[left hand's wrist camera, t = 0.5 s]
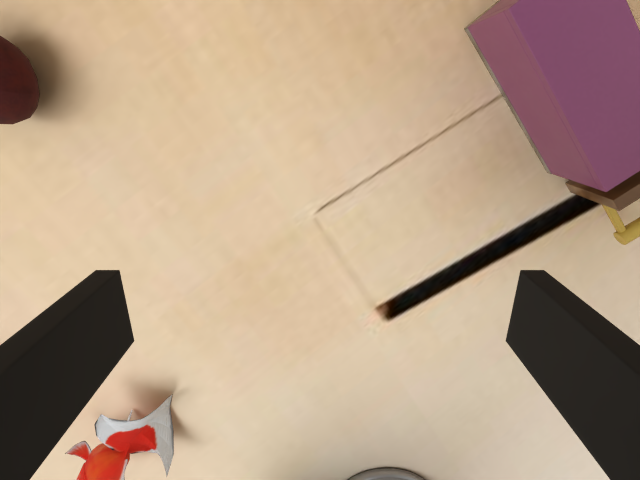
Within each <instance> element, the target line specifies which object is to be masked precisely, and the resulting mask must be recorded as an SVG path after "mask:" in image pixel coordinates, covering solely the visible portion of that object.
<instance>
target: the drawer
mask: <svg viewBox="0 0 640 480" xmlns="http://www.w3.org/2000/svg"><path fill="white" fill-rule="evenodd" d="M566 185H567V187H568V189H569V190H570V192H572V193H574V194H577V195H579V196H582V197H584V198H587V199H590V200H592V201H595V202H597V203H600V204H602V205H603V207H604V209H605V211H606V213H607V215H608V216H609V218H610V220H611V222H612V224H613V226H614V227H615V229H616V232H615V233H614V237H615V238H616V239H617V241H619V242H620V243H621V244H623V245H626V244H628V243H629V242H631V241H633V240H634V239H636V238H638V237H639V236H640V217H639V218H638V219H636V220H634V221H633V222H631V223H629V224H628V225H626V226H624V224H623V222H622V220H621V219H620V217H619V215H618V213H617V211H616V210H618V211H620V210H621V209H623V208H625V207H626V206H628V205H630V204H631V203H633V202H634V201H636V200H638V199H639V198H640V171H639V172H637V173H635V174H634V175H632V176H631V177H629V178H628V179H626V180H624V181H623V182H621V183H620V184H618V185H617V186H615V187H614V188H612V189H610V190H609V191H607V192H604V191H601V190H598V189H595V188H593V187H590V186H587V185H584V184H581V183H578V182H575V181H572V180H569V181H568V182H566Z"/></svg>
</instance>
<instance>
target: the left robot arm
mask: <svg viewBox="0 0 640 480" xmlns="http://www.w3.org/2000/svg"><path fill="white" fill-rule="evenodd" d="M133 342H134V338H133V333H132V328H131V323H130V318H129V314H128V309H127V304H126V299H125V295H124V290H123V285H122V280H121V275H120V271H119V270H96V271H94V272H93V273H92V274H91V275H89V276H88V277H87V278H85V279H84V280H83V281H82V282H80V283H79V284H78V285H77V286H75V287H74V288H73V289H71V290H70V291H69V292H68V293H66V294H65V295H64V296H63V297H61V298H60V299H59V300H57V301H56V302H55V303H54V304H52V305H51V306H50V307H49V308H47V309H46V310H45V311H43V312H42V313H41V314H40V315H38V316H37V317H36V318H35V319H33V320H32V321H31V322H29V323H28V324H27V325H26V326H24V327H23V328H22V329H21V330H19V331H18V332H17V333H15V334H14V335H13V336H12V337H10V338H9V339H8V340H6V341H5V342H4V343H3V344H1V345H0V480H30V478H31V477H32V476H33V474H34V473H35V472H36V470H37V469H38V468H39V467H40V465H41V464H42V463H43V461H44V460H45V459H46V457H47V456H48V455H49V453H50V452H51V451H52V449H53V448H54V447H55V445H56V444H57V443H58V441H59V440H60V439H61V437H62V436H63V435H64V433H65V432H66V431H67V429H68V428H69V427H70V425H71V424H72V423H73V421H74V420H75V419H76V417H77V416H78V415H79V413H80V412H81V411H82V409H83V408H84V407H85V405H86V404H87V403H88V402H89V400H90V399H91V398H92V396H93V395H94V394H95V392H96V391H97V390H98V388H99V387H100V386H101V384H102V383H103V382H104V380H105V379H106V378H107V376H108V375H109V374H110V372H111V371H112V370H113V368H114V367H115V366H116V364H117V363H118V362H119V360H120V359H121V358H122V356H123V355H124V354H125V352H126V351H127V350H128V348H129V347H130V346H131V344H132V343H133ZM506 342H507V343H508V344H509V346H510V347H511V348H512V350H513V351H514V352H515V354H516V355H517V356H518V358H519V359H520V360H521V362H522V363H523V364H524V366H525V367H526V368H527V370H528V371H529V372H530V374H531V375H532V376H533V378H534V379H535V380H536V382H537V383H538V384H539V386H540V387H541V388H542V390H543V391H544V392H545V394H546V395H547V396H548V398H549V399H550V400H551V402H552V403H553V404H554V405H555V407H556V408H557V409H558V411H559V412H560V413H561V415H562V416H563V417H564V419H565V420H566V421H567V423H568V424H569V425H570V427H571V428H572V429H573V431H574V432H575V433H576V435H577V436H578V437H579V439H580V440H581V441H582V443H583V444H584V445H585V447H586V448H587V449H588V451H589V452H590V453H591V455H592V456H593V457H594V459H595V460H596V461H597V463H598V464H599V465H600V467H601V468H602V469H603V470H604V472H605V473H606V474H607V476H608V477H609V478H610V480H640V345H639V344H637V343H636V342H635V341H634V340H632V339H631V338H630V337H628V336H627V335H626V334H625V333H623V332H622V331H621V330H619V329H618V328H617V327H616V326H614V325H613V324H612V323H611V322H609V321H608V320H607V319H605V318H604V317H603V316H602V315H600V314H599V313H598V312H597V311H595V310H594V309H593V308H591V307H590V306H589V305H588V304H586V303H585V302H584V301H583V300H581V299H580V298H579V297H577V296H576V295H575V294H574V293H572V292H571V291H570V290H569V289H567V288H566V287H565V286H563V285H562V284H561V283H560V282H558V281H557V280H556V279H555V278H553V277H552V276H551V275H549V274H548V273H547V272H546V271H544V270H521V271H520V275H519V280H518V285H517V290H516V295H515V299H514V304H513V309H512V314H511V318H510V323H509V328H508V333H507V338H506ZM349 480H424V479H423V478H422V477H420V476H418V475H416V474H414V473H412V472H409V471H406V470H401V469H394V468H381V469H374V470H369V471H365V472H362V473H360V474H357V475H355V476H353V477H352V478H350V479H349Z"/></svg>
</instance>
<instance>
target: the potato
mask: <svg viewBox="0 0 640 480" xmlns="http://www.w3.org/2000/svg"><path fill="white" fill-rule="evenodd" d="M38 100H39V88H38V81H37V77H36V75H35V73H34V70H33V68H32V66H31V64H30V62H29V59H28V58H27V57H26V56H25V55H24V54H23V53H22V52H21V51H20V50H19V49H18V48H17V47H16V46H14V45H13V44H12V43H10V42H9V41H7V40H6V39H4V38H3V37H2V36H0V124H15V123H17V122H20V121H23V120H25V119H28V118H30V117H31V115H32V114H33V113H34V111H35V110H36V108H37V106H38Z"/></svg>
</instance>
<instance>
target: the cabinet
mask: <svg viewBox="0 0 640 480" xmlns="http://www.w3.org/2000/svg"><path fill="white" fill-rule="evenodd" d="M464 29H465V31H466V33H467V34H468V36H469V38H470V40H471V41H472V43H473V45H474V47H475V48H476V50H477V52H478V53H479V55H480V57H481V59H482V60H483V62H484V64H485V66H486V67H487V69H488V71H489V72H490V74H491V76H492V78H493V79H494V81H495V83H496V85H497V86H498V88H499V90H500V92H501V93H502V95H503V97H504V98H505V100H506V102H507V104H508V105H509V107H510V109H511V111H512V112H513V114H514V116H515V117H516V119H517V121H518V123H519V124H520V126H521V128H522V130H523V131H524V133H525V135H526V137H527V138H528V140H529V142H530V143H531V145H532V147H533V149H534V150H535V152H536V154H537V156H538V157H539V159H540V161H541V163H542V164H543V166H544V168H545V169H546V171H547V173H550V174H555V175H557V176H560V177H563V178H566V179H569V180H572V181H575V182H578V183H581V184H584V185H587V186H590V187H593V188H595V189H598V190H601V191H604V192H607V191H609V190H610V189H612V188H614V187H615V186H617V185H618V184H620V183H621V182H623V181H624V180H626V179H628V178H629V177H631V176H632V175H634V174H635V173H637V172H639V171H640V31H639V29H638V26H637V24H636V22H635V19H634V17H633V15H632V12H631V10H630V8H629V6H628V3H627V1H626V0H499V1H498V2H497V3H495V4H494V5H493V6H492V7H490V8H489V9H488V10H487V11H485V12H484V13H483V14H482V15H480V16H479V17H478V18H477V19H476V20H474V21H473V22H472V23H471V24H469V25H468V26H467V27H466V28H464Z"/></svg>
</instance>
